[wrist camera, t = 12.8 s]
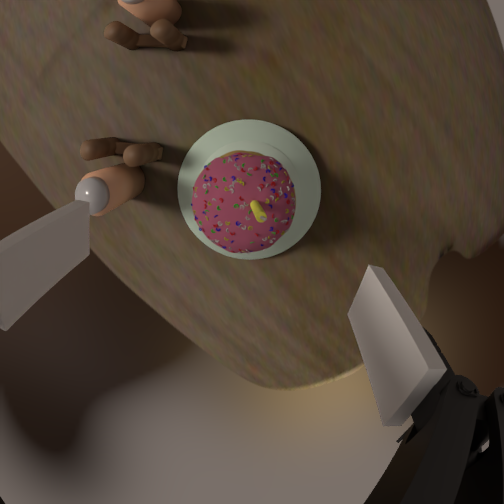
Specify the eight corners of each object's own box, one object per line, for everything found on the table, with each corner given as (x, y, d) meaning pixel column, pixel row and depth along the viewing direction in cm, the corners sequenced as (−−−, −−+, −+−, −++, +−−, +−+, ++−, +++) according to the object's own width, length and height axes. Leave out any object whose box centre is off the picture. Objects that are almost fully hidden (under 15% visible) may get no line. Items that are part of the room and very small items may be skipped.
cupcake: (269, 132, 26) (268, 131, 15) (307, 213, 28) (328, 267, 17) (188, 173, 28) (135, 201, 17) (228, 247, 30) (204, 315, 19)
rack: (104, 154, 28) (79, 159, 24) (128, 34, 23) (107, 21, 18) (160, 162, 29) (141, 168, 24) (188, 34, 23) (174, 19, 19)
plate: (172, 238, 32) (168, 243, 30) (194, 108, 26) (190, 107, 25) (298, 267, 32) (299, 273, 31) (334, 140, 27) (337, 140, 26)
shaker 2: (142, 30, 23) (106, 6, 16) (152, 0, 21) (120, -29, 14) (176, 30, 23) (147, 3, 16) (186, -1, 22) (161, -33, 14)
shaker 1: (111, 195, 30) (71, 214, 23) (115, 160, 29) (72, 171, 21) (142, 201, 30) (106, 223, 23) (147, 164, 29) (110, 177, 21)
